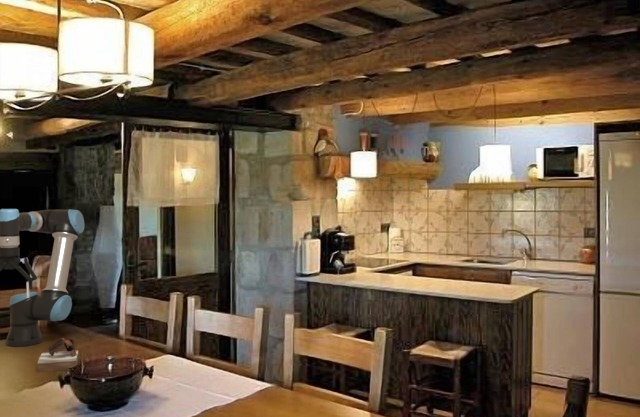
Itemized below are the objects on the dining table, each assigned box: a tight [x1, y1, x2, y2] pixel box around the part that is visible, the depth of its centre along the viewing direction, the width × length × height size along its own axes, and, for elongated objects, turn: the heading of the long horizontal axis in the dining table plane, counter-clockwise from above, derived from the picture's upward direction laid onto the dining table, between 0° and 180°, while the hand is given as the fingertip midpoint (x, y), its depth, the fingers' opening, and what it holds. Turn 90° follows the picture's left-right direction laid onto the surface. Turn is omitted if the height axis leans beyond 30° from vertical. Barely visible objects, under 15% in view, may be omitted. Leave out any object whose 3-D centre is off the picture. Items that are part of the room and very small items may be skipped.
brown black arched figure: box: [47, 337, 76, 357], centre depth 247 cm, size 12×10×8 cm
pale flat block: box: [37, 349, 80, 373], centre depth 246 cm, size 14×14×4 cm
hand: (10, 298), depth 249 cm, fingers open, 13 cm apart
